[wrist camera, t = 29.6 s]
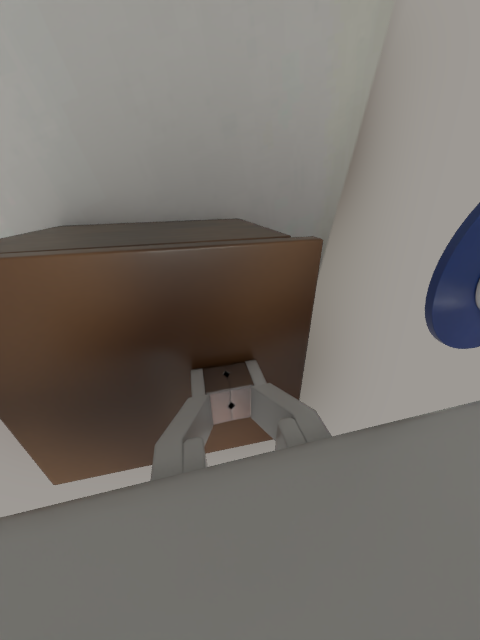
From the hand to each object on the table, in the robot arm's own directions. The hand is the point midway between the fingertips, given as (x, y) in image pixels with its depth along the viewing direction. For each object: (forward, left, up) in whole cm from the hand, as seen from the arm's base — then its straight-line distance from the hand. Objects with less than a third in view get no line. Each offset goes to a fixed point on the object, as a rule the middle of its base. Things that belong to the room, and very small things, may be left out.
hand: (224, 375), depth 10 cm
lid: (+3, 0, -1) cm, 3 cm away
